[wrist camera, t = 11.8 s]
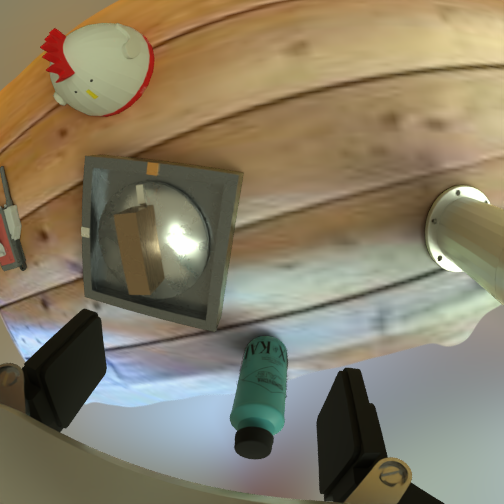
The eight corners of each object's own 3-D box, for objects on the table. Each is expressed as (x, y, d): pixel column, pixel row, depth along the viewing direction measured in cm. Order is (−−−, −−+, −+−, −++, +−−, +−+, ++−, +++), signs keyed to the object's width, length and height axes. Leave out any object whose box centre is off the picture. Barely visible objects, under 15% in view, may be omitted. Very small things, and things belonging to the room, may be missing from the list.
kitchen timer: (88, 133, 38) (15, 135, 24) (67, 62, 35) (0, 46, 21) (167, 86, 35) (108, 60, 21) (139, 13, 32) (84, -28, 18)
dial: (216, 295, 41) (205, 318, 36) (114, 294, 43) (94, 313, 38) (202, 174, 36) (187, 179, 31) (94, 188, 38) (68, 196, 33)
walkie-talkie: (36, 265, 47) (9, 163, 41) (21, 274, 43) (-8, 166, 37) (12, 271, 48) (-13, 178, 43) (-2, 280, 44) (-28, 182, 38)
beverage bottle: (284, 365, 47) (279, 470, 28) (242, 358, 47) (219, 461, 28) (292, 331, 45) (291, 439, 26) (247, 325, 45) (223, 429, 26)
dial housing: (243, 172, 38) (238, 175, 34) (221, 317, 45) (215, 332, 41) (100, 154, 39) (84, 156, 35) (97, 286, 46) (84, 297, 42)
